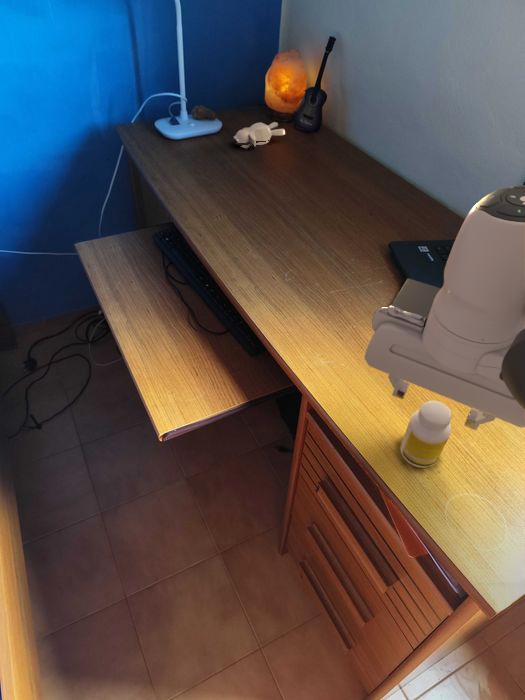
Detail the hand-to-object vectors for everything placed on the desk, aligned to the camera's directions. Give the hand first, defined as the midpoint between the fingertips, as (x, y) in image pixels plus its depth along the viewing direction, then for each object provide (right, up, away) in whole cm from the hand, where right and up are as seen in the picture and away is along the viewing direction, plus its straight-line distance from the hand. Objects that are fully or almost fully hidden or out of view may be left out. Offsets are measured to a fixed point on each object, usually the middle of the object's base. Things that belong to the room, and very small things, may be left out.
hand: (434, 408), depth 60 cm
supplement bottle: (0, -7, +7) cm, 11 cm away
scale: (+10, +14, +27) cm, 32 cm away
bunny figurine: (-24, +72, +84) cm, 113 cm away
